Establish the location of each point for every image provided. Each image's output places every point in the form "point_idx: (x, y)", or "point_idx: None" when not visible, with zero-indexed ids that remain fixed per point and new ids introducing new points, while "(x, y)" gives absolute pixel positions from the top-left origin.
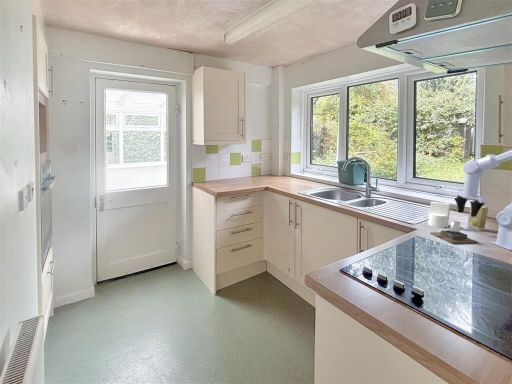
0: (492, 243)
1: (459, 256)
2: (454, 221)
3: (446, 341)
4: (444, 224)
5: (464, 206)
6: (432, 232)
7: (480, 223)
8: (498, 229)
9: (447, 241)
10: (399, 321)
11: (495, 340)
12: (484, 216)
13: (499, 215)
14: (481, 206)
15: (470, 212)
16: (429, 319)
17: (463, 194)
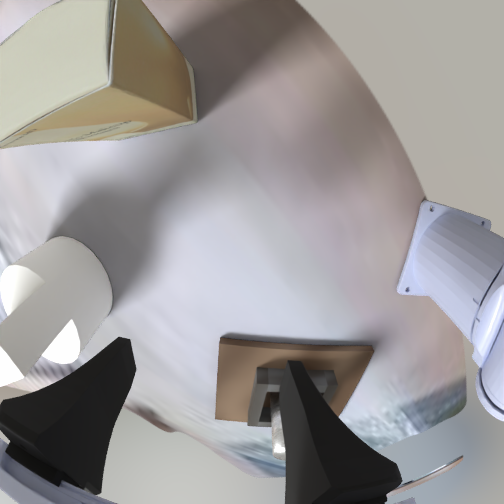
0: (405, 292)
1: (390, 437)
2: (283, 451)
3: (436, 474)
4: (103, 300)
5: (97, 378)
6: (216, 415)
7: (184, 110)
8: (456, 324)
9: None
10: (409, 487)
11: (458, 457)
12: (163, 59)
13: (497, 409)
14: (365, 451)
15: (50, 141)
16: (422, 478)
17: None
